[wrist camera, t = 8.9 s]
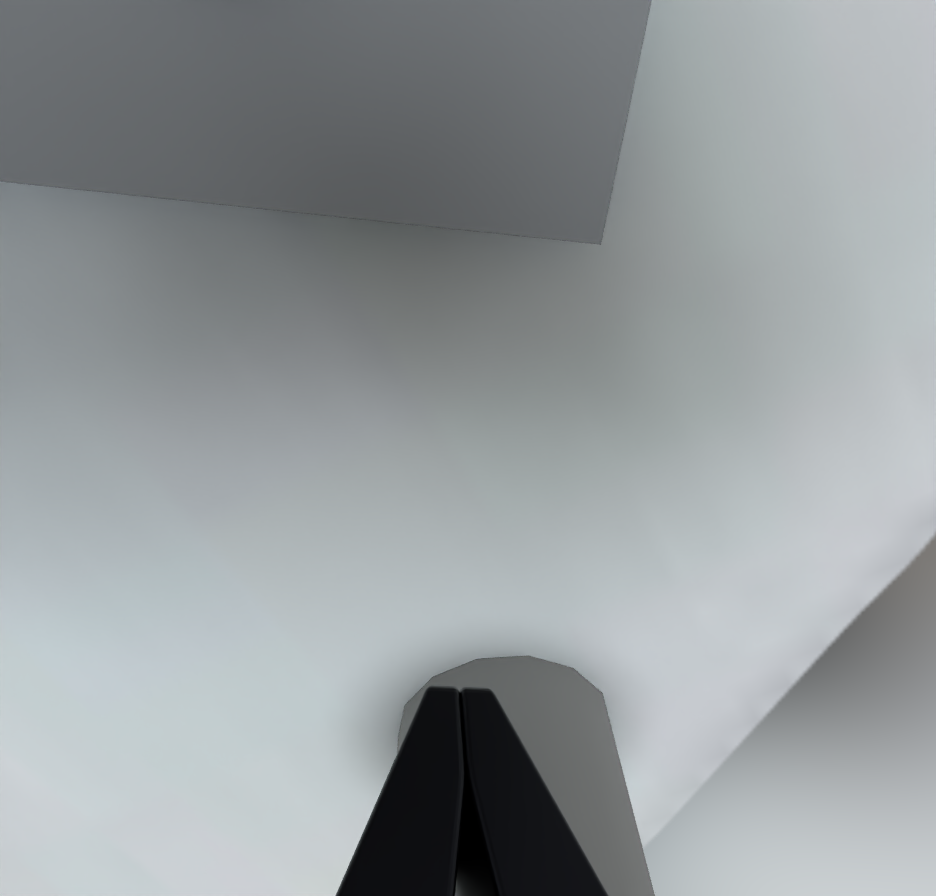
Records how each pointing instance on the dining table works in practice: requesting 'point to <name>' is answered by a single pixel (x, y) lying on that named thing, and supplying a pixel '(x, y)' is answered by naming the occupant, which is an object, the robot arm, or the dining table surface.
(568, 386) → the dining table surface
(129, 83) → the base
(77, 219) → the dining table surface
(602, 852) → the cup
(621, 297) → the dining table surface
